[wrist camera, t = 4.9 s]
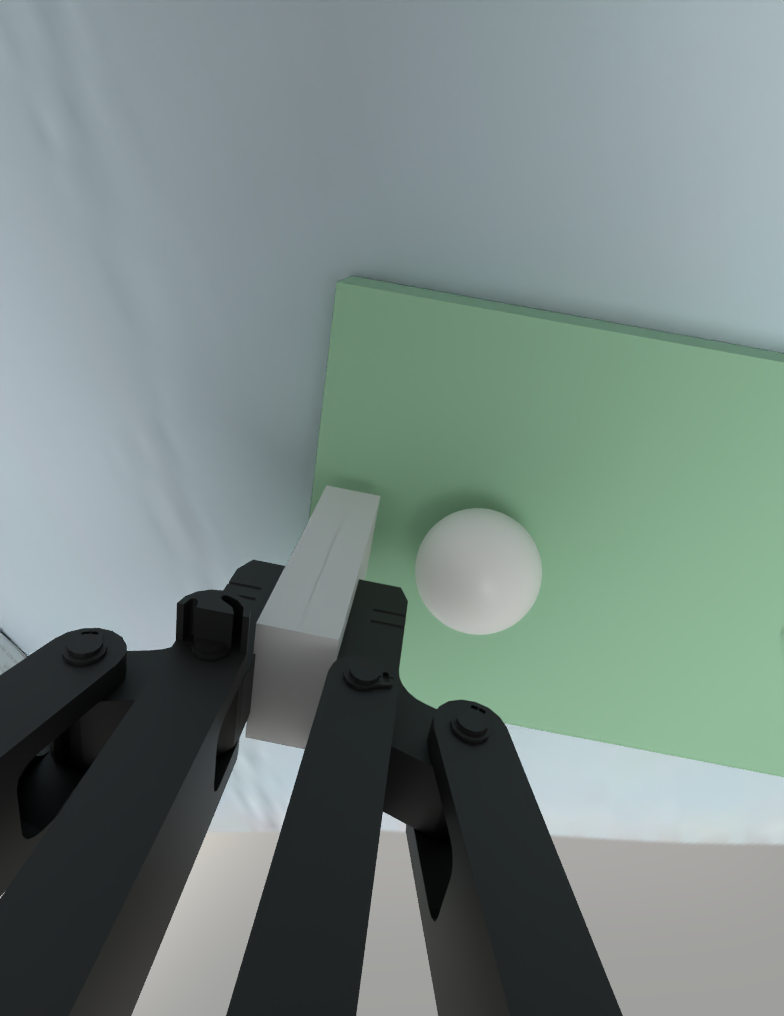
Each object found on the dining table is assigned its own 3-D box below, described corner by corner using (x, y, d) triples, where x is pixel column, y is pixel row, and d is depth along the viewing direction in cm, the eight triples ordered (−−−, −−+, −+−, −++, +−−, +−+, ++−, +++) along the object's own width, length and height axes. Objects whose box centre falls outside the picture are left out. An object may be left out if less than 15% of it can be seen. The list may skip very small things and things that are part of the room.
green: (306, 637, 23) (290, 681, 21) (351, 276, 18) (336, 281, 16) (996, 770, 23) (1056, 829, 21) (1255, 438, 18) (1375, 468, 15)
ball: (429, 479, 18) (424, 531, 15) (547, 500, 18) (567, 558, 14) (409, 580, 19) (400, 647, 16) (518, 601, 19) (530, 672, 16)
